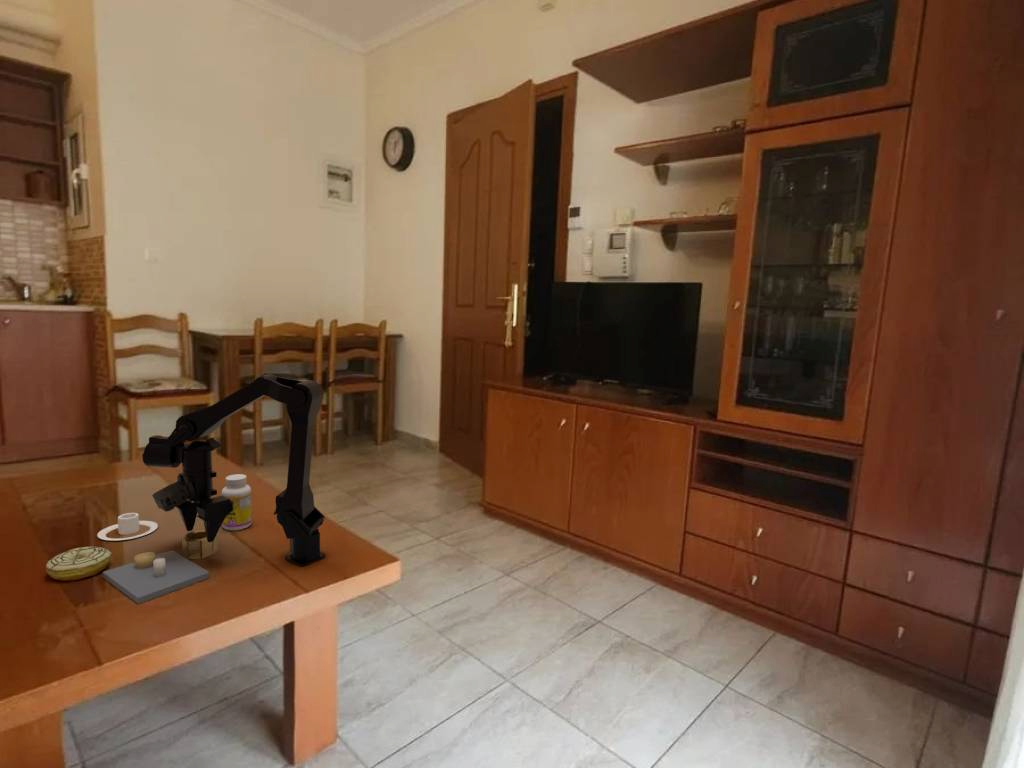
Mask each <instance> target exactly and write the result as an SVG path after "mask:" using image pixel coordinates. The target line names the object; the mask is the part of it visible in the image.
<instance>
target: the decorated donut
mask: <svg viewBox="0 0 1024 768" xmlns="http://www.w3.org/2000/svg"><path fill="white" fill-rule="evenodd" d="M111 558H112V552H111V551H110V550H108V549H107V548H105V547H101V546H81V547H75V548H72V549H69V550H67V551H64V552H62V553H58V554H57V555H55V556H54V557H52V558H51V559H50V560H48V561H47V563H46V565H45V566H46V567H45V568H46V573H47V574H48V576H49V577H51V578H52V579H54V580H56V581H61V580H62V582H67V581H76V580H82V579H86V578H89V577H91V576H95V575H97V574H98V573H100V572H102V571H103V570H104V569H106V568H107V567H108V566H109V564H110V562H111Z"/></svg>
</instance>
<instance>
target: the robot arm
mask: <svg viewBox="0 0 1024 768" xmlns="http://www.w3.org/2000/svg"><path fill="white" fill-rule="evenodd" d="M324 393H325V392H324V389H323V387H322V386H321V385H320V384H319V383H318V382H317V381H314V380H312V379H309V380H303V381H302V380H299V379H293V378H287V377H280V376H278V375H275V374H271V373H270V374H269V373H267V374H265V375H260V376H257V377H255V379H254V380H253V381H252V382H250V383H248V384H246V385H245V386H243V387H241V388H239V389H238V390H235V391H234V392H232V393H230V394H229V395H227V396H225V397H224V398H222V399H220V400H218V401H217V402H215V403H213V404H212V405H209V406H206V407H204V408H200V409H197V410H195V411H191V412H189V413H186V414H183V415H181V416H179V417H178V418H177V419H176V421H175V428H174V429H173V431H172V432H171V433H170V434H169V435H168V436H162V435H158V434H157V435H152V436H149V437H148V442H147V444H146V446H145V447H144V450H143V453H142V456H141V457H142V462H143V464H144V465H145V466H146V467H151V468H169V469H170V468H173V469H174V468H178V467H179V466H182V468H181V469H182V471H181V472H180V473H178V475H177V480H176V481H175V482H173V483H171V484H168V485H166V486H164V487H163V488H161V489H159V490H158V491H156V492H155V493H153V494H152V498H153V500H154V502H155V503H156V506H157V508H158V509H161V510H163V511H164V512H170V511H173V510H174V509H175V508H176V509H177V510H178V512H179V514H180V516H181V519H182V521H183V525H184V526H185V530H186V532H193V531H194V527H195V524H196V519H197V518H198V519H200V520H201V521H203V526H204V530H205V532H206V537H207V541H208V542H212V541H214V539H215V537H216V535H217V534H218V533H219V530H220V529H221V527H222V523H223V521H224V520H225V518H226V516H227V515H228V514H230V512H233V511H234V502H233V501H231V500H230V499H228V498H225V497H223V496H222V495H218V490H217V489H215V488H214V480H213V478H216V477H217V472H216V471H215V470H213V453H212V452H213V451H215V450H218V449H219V448H222V447H223V446H222V445H223V444H221V443H220V442H219V441H218V440H216V439H215V438H214V437H210V438H207V439H206V440H198V439H201V438H203V437H206V436H209V435H211V434H212V433H214V431H216V430H217V429H219V428H220V426H222V425H223V423H224V422H225V421H226V420H227V419H229V417H231V416H233V415H235V414H236V413H238V412H240V411H241V410H243V409H244V408H246V407H248V406H250V405H252V404H254V403H256V402H257V401H259V400H260V399H262V398H264V397H269V398H270V399H273V400H275V401H276V402H279V403H282V404H285V407H286V408H285V409H286V414H287V416H288V419H289V421H290V425H291V426H290V437H289V440H290V441H289V452H288V453H289V454H288V465H287V467H288V468H287V479H286V480H287V481H286V488H285V489H283V490H282V491H281V492H280V493H278V494H277V495H276V496H275V510H274V512H273V515H275V516H276V521H277V523H278V524H279V525H280V526H281V527H282V529H283V532H284V535H285V537H286V539H287V540H288V539H289V542H290V545H289V546H290V547H289V548H290V549H289V551H290V553H289V554H286V555H284V559H285V560H287V561H289V562H291V563H293V564H295V565H297V566H299V567H305V566H307V565H310V564H311V563H314V562H316V561H318V560H322V559H324V558H326V557H327V554H326V553H324V552H323V551H322V552H321V532H319V531H320V529H319V528H320V527H321V526H322V525H323V524H324V521H325V519H326V516H325V515H324V514H323V513H322V512H321V511H320V510H319V509H318V508H317V507H316V506H315V499H314V493H313V491H312V488H311V486H310V479H311V478H310V477H311V475H310V474H311V465H312V464H311V463H312V451H313V441H314V440H313V439H314V428H315V426H314V425H315V421H316V419H317V417H318V415H319V412H320V410H321V407H322V404H323V399H324V396H325V395H324ZM185 442H190V443H185ZM216 495H218V496H216ZM212 496H215V497H212ZM217 536H218V535H217Z"/></svg>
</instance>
